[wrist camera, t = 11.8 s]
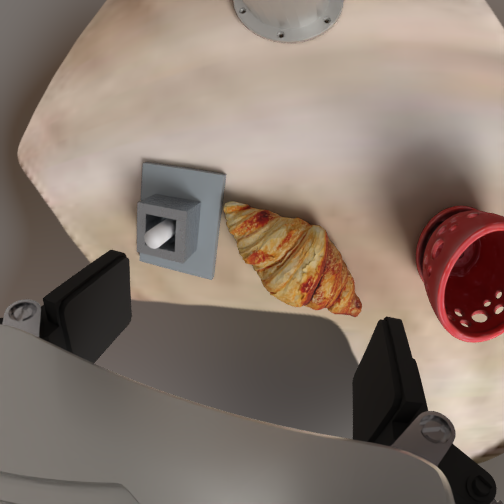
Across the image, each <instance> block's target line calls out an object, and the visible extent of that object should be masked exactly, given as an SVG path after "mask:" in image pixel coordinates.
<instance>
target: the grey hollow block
mask: <svg viewBox="0 0 504 504" xmlns="http://www.w3.org/2000/svg"><path fill="white" fill-rule="evenodd" d="M200 210H201V202H199V201H193V200H188V199H182V198H177V197H171V196H165V195H160V194H154V195H152V196H150V197H148V198H146V199H144V200H141V201H139V202H138V204H137V252H139V253H143V254H147V255H151V256H155V257H159V258H163V259H167V260H171V261H175V262H179V263H183V264H184V263H185V262H186V261H187V260H188V258H189V257H190V256H191V255H192V254H193V253H194V252H195V251H196V250H197V245H198V233H199V221H200ZM162 217H164V218H169V219H174V220H176V235H175V236H172V237H171V238H170V239H168V240H167V241H166V242H165V243H163V244H162V245H161V246H160V247H158V248H156V249H153V248H150V247H149V246H148V245H147V244H146V242H145V239H144V236H145V233H146V232H147V231H149V230H150V229H152V228H153V227H155V226H156V225H158V224H159V223H161V222H162Z"/></svg>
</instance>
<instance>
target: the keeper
mask: <svg viewBox="0 0 504 504" xmlns="http://www.w3.org/2000/svg"><path fill="white" fill-rule="evenodd" d="M225 180H226V174H222V173H216V172H210V171H204V170H198V169H192V168H185V167H179V166H172V165H165V164H158V163H151V162H145V163H143V169H142V186H141V200H144V199H146V198H148V197H150V196H152V195H154V194H160V195H165V196H171V197H177V198H182V199H188V200H193V201H199V202H201V210H200V221H199V233H198V245H197V250H196V251H195V252H194V253H193V254H192V255H191V256H190V257H189V258H188V260H187V261H186V262H185V263H184V264H183V263H179V262H175V261H171V260H167V259H163V258H159V257H155V256H151V255H147V254H143V253H140V261H142V262H146V263H149V264H153V265H157V266H160V267H164V268H168V269H172V270H175V271H179V272H183V273H187V274H191V275H194V276H198V277H202V278H206V279H210V280H212V279H213V277H214V271H215V262H216V254H217V245H218V236H219V228H220V220H221V212H222V204H223V196H224V188H225ZM175 235H176V220H174V219H169V218H164V217H162V222H161V223H159V224H158V225H156V226H155V227H153V228H152V229H150V230H149V231H147V232H146V233H145V236H144V239H145V242H146V244H147V245H148V246H149V247H150V248H153V249H156V248H158V247H160V246H161V245H162V244H163V243H165V242H166V241H167V240H168V239H170V238H171V237H172V236H175Z"/></svg>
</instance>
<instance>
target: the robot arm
mask: <svg viewBox="0 0 504 504" xmlns="http://www.w3.org/2000/svg"><path fill="white" fill-rule="evenodd" d="M343 2H344V0H233V3H234V8H235V11H236V13H237V16H238V17H239V19H240V20H241V21H242V23H243V24H244V25H245V26H246V27H247V28H248V29H249V30H251V31H252V32H253V33H254V34H256V35H258V36H260V37H262V38H264V39H267V40H270V41H274V42H280V43H298V42H305V41H308V40H311V39H314V38H316V37H318V36H320V35H322V34H324V33H325V32H327V31H328V30H329V29H330V28H332V26H333V25H334V24H335V23H336V22H337V20H338V18H339V16H340V15H341V12H342V8H343ZM244 11H246V12H245V13H244V14H242V13H243V12H244ZM325 21H329V23H325ZM280 35H284V37H283V38H280V37H279V36H280ZM43 302H44V305H43V306H40V305H39V303H37V302H36V301H33V300H19V301H17V302H14V303H13V304H11V305H9V307H8V308H7V309H6V311H5V314H4V318H0V504H503V503H502V501H501V500H499V501H498V502H497V501H496V500H495V499H494V498H495V495H496V484H495V481H494V479H493V478H492V476H491V475H490V474H489V473H488V472H486V471H485V470H484V469H483V468H481V467H480V466H479V465H478V464H477V463H475V462H474V461H473V460H472V459H471V458H469V457H468V456H467V455H466V454H464V453H463V452H462V451H461V450H460V449H458V448H457V447H456V446H455V445H453V444H452V443H453V441H454V439H455V429H454V426H453V424H452V423H451V421H450V420H449V419H448V418H447V417H446V416H444V415H442V414H441V413H438V412H435V411H428V408H427V403H426V399H425V395H424V391H423V387H422V382H421V378H420V375H419V371H418V367H417V363H416V361H415V359H413V358H412V354H411V351H410V347H409V344H408V340H407V336H406V333H405V330H404V326H403V323H402V320H401V319H396V318H391V317H385V318H384V320H381V319H380V320H379V321H378V323H377V326H376V328H375V330H374V333H373V335H372V337H371V340H370V342H369V344H368V346H367V349H366V351H365V353H364V355H363V357H362V360H361V362H360V364H359V366H358V368H357V370H356V373H355V375H354V378H353V439H347V438H341V437H336V436H330V435H324V434H319V433H314V432H309V431H304V430H299V429H294V428H289V427H284V426H280V425H275V424H271V423H267V422H262V421H259V420H255V419H251V418H247V417H243V416H240V415H236V414H233V413H229V412H225V411H222V410H219V409H215V408H212V407H209V406H205V405H202V404H199V403H196V402H193V401H190V400H186V399H184V398H181V397H178V396H175V395H172V394H169V393H166V392H163V391H161V390H158V389H155V388H152V387H150V386H147V385H145V384H142V383H139V382H137V381H134V380H132V379H129V378H127V377H124V376H122V375H119V374H117V373H115V372H112V371H110V370H108V369H105V368H103V367H101V366H98V365H96V364H94V363H95V362H96V360H97V359H98V358H99V357H100V356H101V355H102V354H103V353H104V351H105V350H106V349H107V348H108V347H109V346H110V345H111V344H112V342H113V341H114V340H115V339H116V338H117V337H118V336H119V335H120V333H121V332H122V331H123V330H124V329H125V328H126V327H127V326H128V325H129V323H130V321H131V317H132V313H131V295H130V267H129V259H128V258H126V255H125V253H122V252H118V251H115V250H110V251H108V252H107V253H105V254H104V255H102V256H101V257H99V258H98V259H96V260H95V261H94V262H92V263H91V264H89V265H88V266H86V267H85V268H84V269H82V270H81V271H80V272H78V273H77V274H75V275H74V276H72V277H71V278H70V279H68V280H67V281H66V282H64V283H63V284H61V285H60V286H59V287H57V288H56V289H54V290H53V291H52V292H51V293H49V294H48V295H46V296H45V297H44V298H43Z"/></svg>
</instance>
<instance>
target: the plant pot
mask: <svg viewBox="0 0 504 504" xmlns="http://www.w3.org/2000/svg"><path fill="white" fill-rule="evenodd" d="M416 264H417V269H418V272H419V275H420V277H421V279H422V281H423V282H424V285H425V289H426V292H427V296H428V298H429V301H430V303H431V306H432V308H433V310H434V312H435V314H436V316H437V318H438V320H439V321H440V323H441V324H442V326H443V327H444V328H445V329H446V330H447V331H448V332H449V333H450V334H451V335H452V336H454V337H455V338H457V339H459V340H462V341H465V342H482V341H487V340H490V339H493V338H495V337H497V336H499V335H501V334H502V333H504V309H503V311H502V312H501V313H499V314H495V312H496V310H497V309H498V308H499V307H504V217H503V216H500V215H497V214H493V213H487V212H483V211H479V210H477V209H475V208H472V207H468V206H453V207H450V208H447V209H445V210H443V211H441V212H439V213H438V214H437V215H435V216H434V217H433V218H432V219H431V220H430V221H429V222H428V224H427V225H426V226H425V228H424V229H423V231H422V233H421V235H420V238H419V241H418V245H417V249H416ZM499 292H502V296H501V297H500V298H498V299H497V298H496V296H497V294H498V293H499ZM486 302H491V304H490V305H489V306H487V307H485V306H484V304H485V303H486ZM455 311H456V312H459V313H461V314H462V316H458V315H456V314H455ZM475 314H485V315H486V316H487V320H486V321H485V322H482V323H480V322H476V321H474V320H473V319H472V316H473V315H475ZM461 323H464V324H466V325H468V327H465V326H463V325H462V324H461Z"/></svg>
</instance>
